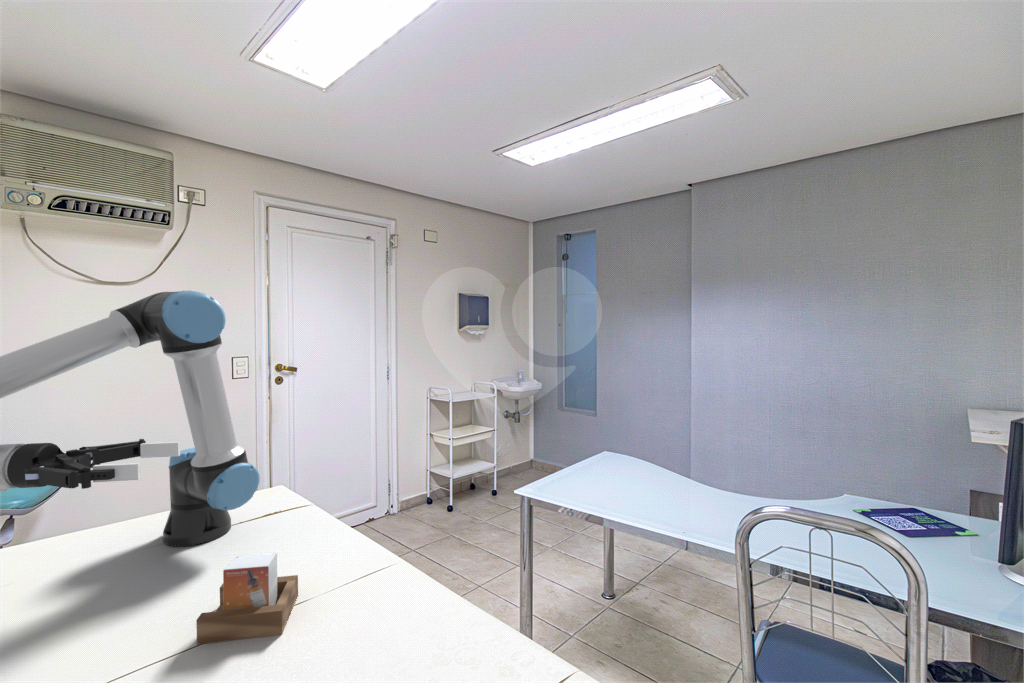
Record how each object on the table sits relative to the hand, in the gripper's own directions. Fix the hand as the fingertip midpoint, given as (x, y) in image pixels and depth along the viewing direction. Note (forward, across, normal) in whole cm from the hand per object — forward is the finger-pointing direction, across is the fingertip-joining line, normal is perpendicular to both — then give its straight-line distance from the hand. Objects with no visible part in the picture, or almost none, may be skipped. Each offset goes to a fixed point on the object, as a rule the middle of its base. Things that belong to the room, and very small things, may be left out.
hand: (161, 459), depth 85 cm
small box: (+15, 0, -31) cm, 34 cm away
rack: (+15, 0, -32) cm, 35 cm away
